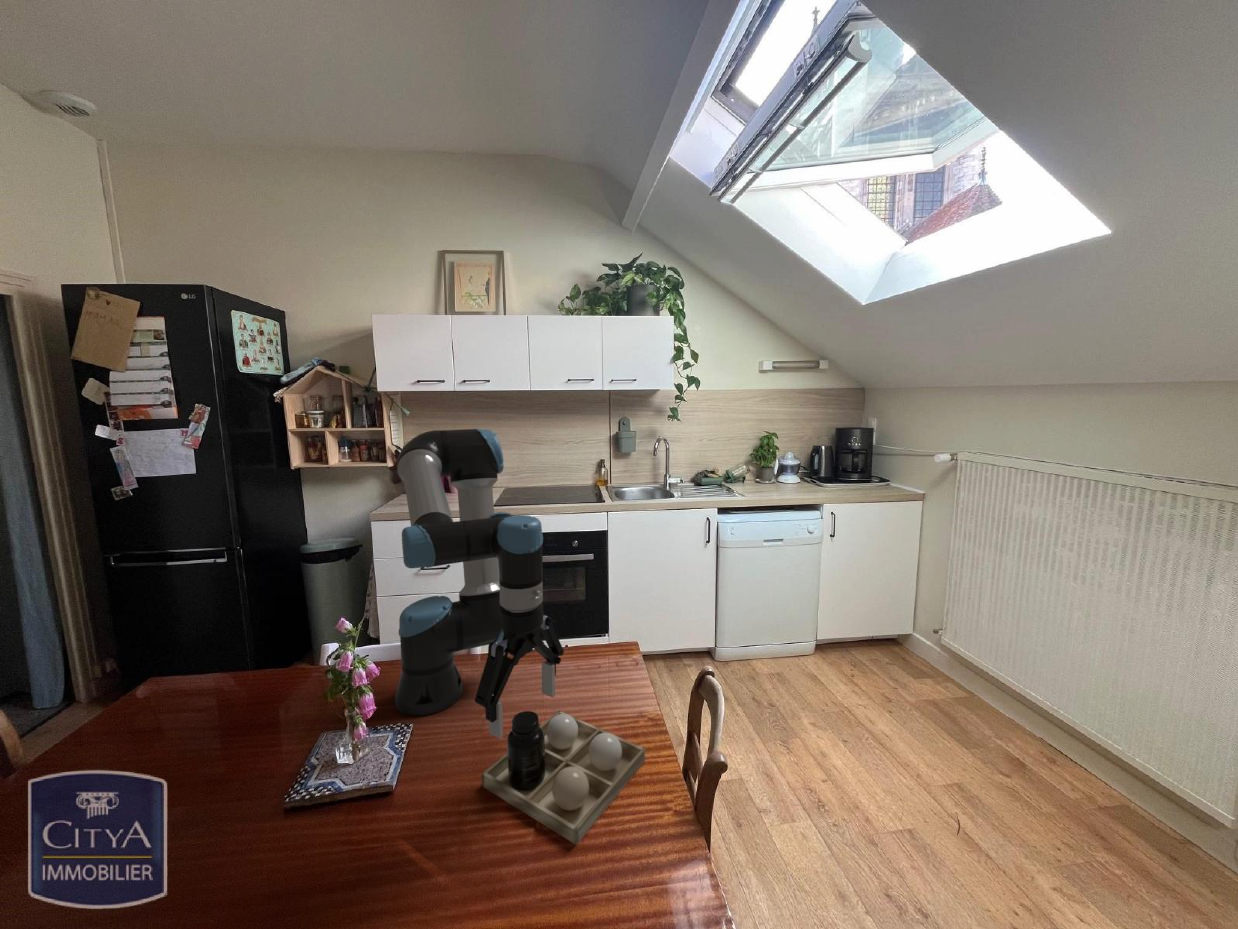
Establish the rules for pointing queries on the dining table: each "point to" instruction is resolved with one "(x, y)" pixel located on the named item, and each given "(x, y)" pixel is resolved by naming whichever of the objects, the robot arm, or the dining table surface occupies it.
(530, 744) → the supplement bottle
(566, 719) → the egg
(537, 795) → the crate
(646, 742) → the dining table surface
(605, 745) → the egg
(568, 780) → the egg
